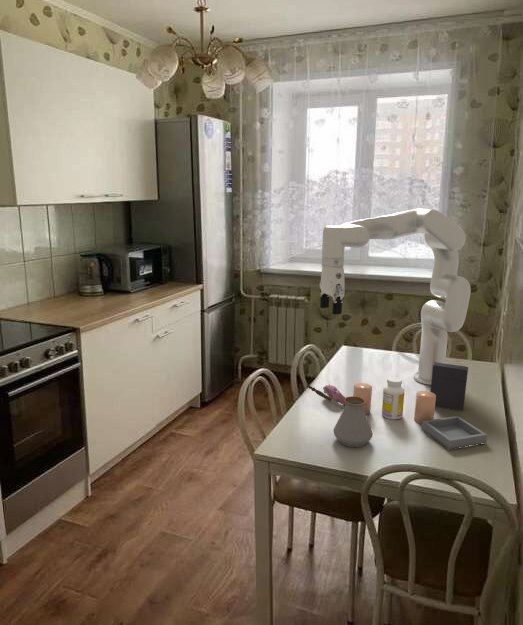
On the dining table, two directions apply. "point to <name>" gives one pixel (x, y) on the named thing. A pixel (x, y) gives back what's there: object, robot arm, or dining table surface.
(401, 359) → the dining table surface
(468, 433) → the tray
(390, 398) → the supplement bottle
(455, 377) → the dark grey rectangular block
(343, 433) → the coffee pot
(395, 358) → the dining table surface
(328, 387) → the pink purple bumpy rod
